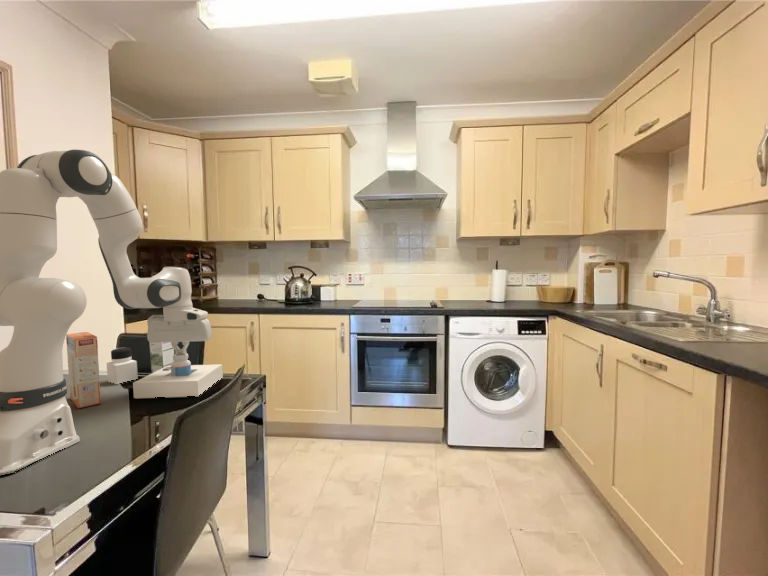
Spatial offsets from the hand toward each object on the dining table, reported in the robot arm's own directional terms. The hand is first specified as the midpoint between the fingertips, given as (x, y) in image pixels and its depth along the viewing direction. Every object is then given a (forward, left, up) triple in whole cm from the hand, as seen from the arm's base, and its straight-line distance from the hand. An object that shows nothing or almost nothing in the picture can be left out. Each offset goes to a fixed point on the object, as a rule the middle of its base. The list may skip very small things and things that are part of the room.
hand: (181, 354), depth 129 cm
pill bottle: (-1, 0, -11) cm, 11 cm away
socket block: (0, 0, -11) cm, 11 cm away
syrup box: (+13, +13, -12) cm, 21 cm away
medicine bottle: (+10, +26, -12) cm, 30 cm away
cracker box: (-11, +24, -12) cm, 29 cm away
